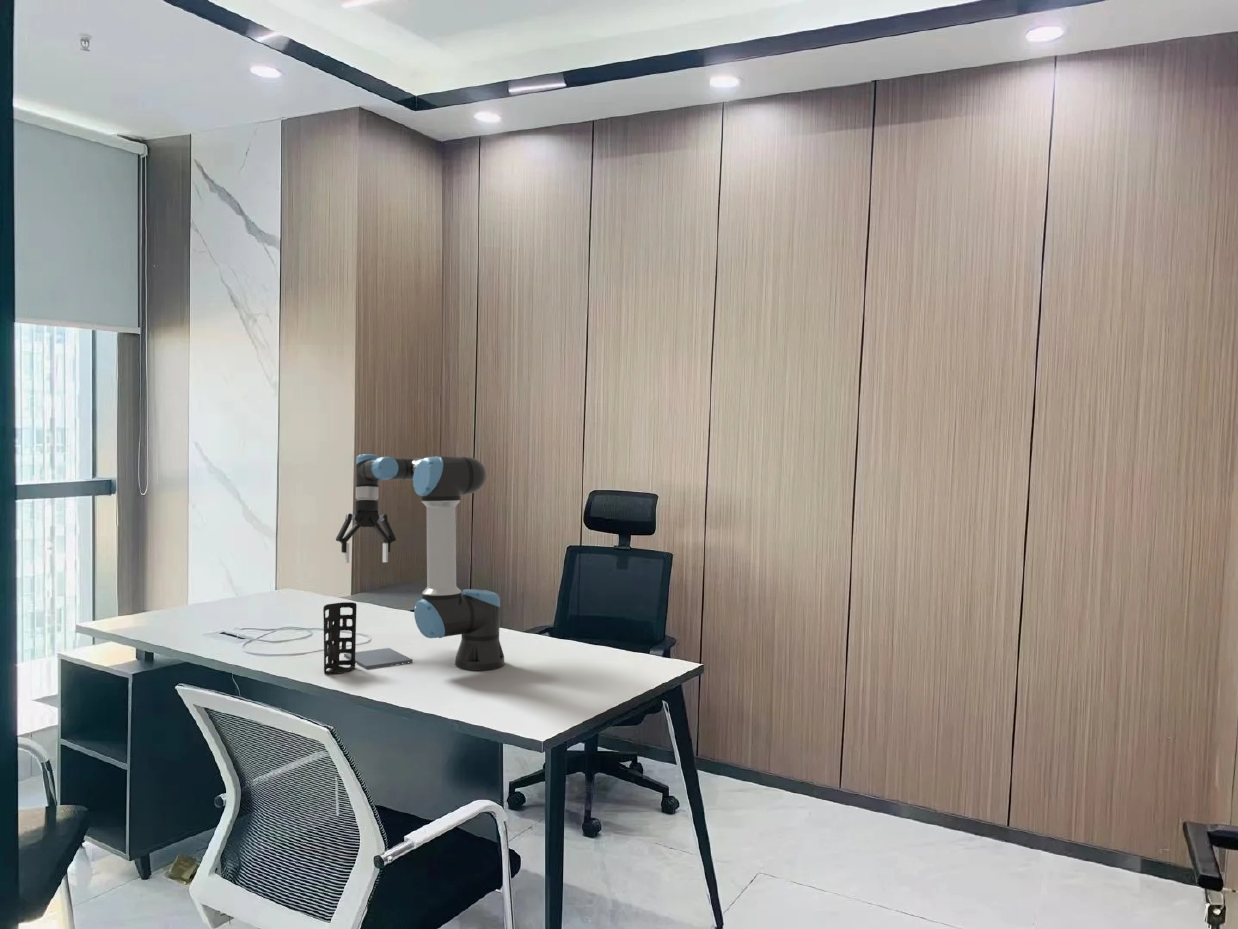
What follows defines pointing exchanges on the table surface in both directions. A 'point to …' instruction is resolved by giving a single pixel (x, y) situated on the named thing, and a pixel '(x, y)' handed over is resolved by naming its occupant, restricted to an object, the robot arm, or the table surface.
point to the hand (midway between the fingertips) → (366, 562)
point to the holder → (338, 637)
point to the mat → (378, 658)
